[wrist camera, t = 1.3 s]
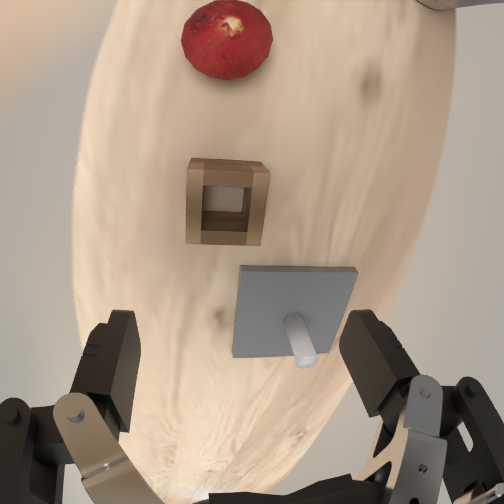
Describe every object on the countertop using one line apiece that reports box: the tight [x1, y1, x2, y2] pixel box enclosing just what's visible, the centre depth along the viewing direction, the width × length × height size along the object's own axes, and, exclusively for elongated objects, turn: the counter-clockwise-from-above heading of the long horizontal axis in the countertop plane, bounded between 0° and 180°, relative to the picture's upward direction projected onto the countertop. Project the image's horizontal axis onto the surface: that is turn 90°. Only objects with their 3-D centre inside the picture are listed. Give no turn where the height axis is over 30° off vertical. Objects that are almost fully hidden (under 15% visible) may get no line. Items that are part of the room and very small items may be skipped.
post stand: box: [232, 266, 358, 368], centre depth 28 cm, size 12×12×7 cm
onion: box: [181, 0, 273, 80], centre depth 15 cm, size 6×6×8 cm
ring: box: [186, 158, 270, 246], centre depth 22 cm, size 6×6×4 cm
